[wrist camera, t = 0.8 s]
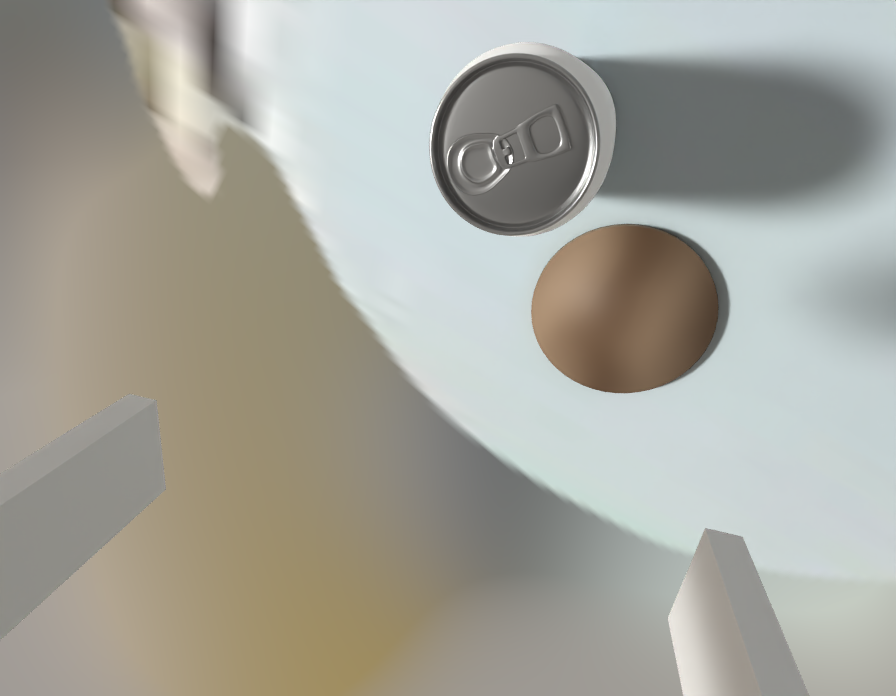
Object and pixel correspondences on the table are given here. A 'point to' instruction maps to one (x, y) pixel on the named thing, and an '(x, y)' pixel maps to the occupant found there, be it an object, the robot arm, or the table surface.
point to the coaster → (624, 308)
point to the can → (522, 139)
